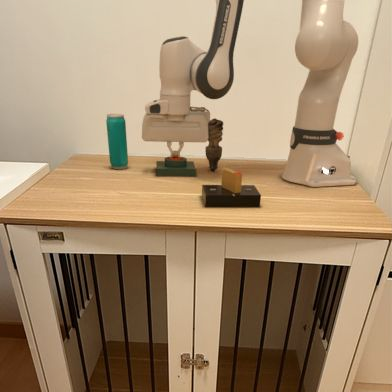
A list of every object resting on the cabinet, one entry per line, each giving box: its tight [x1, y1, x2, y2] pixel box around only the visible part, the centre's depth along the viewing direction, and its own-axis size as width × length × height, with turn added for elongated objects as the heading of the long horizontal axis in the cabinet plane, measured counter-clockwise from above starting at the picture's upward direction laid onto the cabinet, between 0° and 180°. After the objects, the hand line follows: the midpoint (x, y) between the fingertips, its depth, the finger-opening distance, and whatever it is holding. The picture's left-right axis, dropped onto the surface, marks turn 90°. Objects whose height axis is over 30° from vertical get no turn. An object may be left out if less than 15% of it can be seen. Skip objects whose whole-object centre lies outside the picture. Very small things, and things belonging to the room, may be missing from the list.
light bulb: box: [204, 117, 224, 172], centre depth 128 cm, size 6×6×15 cm
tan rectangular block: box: [220, 167, 243, 193], centre depth 104 cm, size 6×2×5 cm, turn 29°
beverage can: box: [105, 113, 129, 171], centre depth 128 cm, size 6×6×15 cm
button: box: [168, 156, 183, 160], centre depth 128 cm, size 4×4×2 cm
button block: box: [155, 155, 197, 177], centre depth 129 cm, size 12×10×4 cm
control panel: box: [201, 184, 262, 208], centre depth 106 cm, size 14×11×3 cm
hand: (175, 157), depth 128 cm, fingers closed, pressing on button
